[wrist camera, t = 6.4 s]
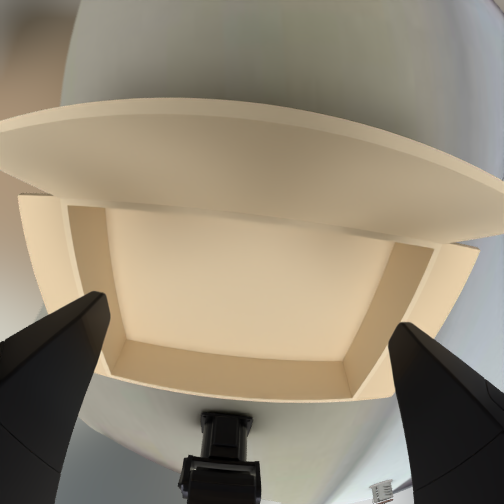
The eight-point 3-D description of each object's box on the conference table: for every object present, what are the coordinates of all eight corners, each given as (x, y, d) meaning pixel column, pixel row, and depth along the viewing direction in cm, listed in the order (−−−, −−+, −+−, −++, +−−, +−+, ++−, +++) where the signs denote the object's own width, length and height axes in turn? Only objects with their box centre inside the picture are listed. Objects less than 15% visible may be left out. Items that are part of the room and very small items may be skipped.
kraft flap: (555, 224, 5) (554, 214, 5) (-47, 146, 4) (-43, 135, 4) (443, 244, 13) (443, 237, 13) (59, 198, 12) (61, 191, 12)
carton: (377, 359, 26) (390, 396, 21) (91, 330, 24) (71, 365, 20) (443, 220, 18) (480, 250, 14) (59, 173, 16) (17, 195, 12)
